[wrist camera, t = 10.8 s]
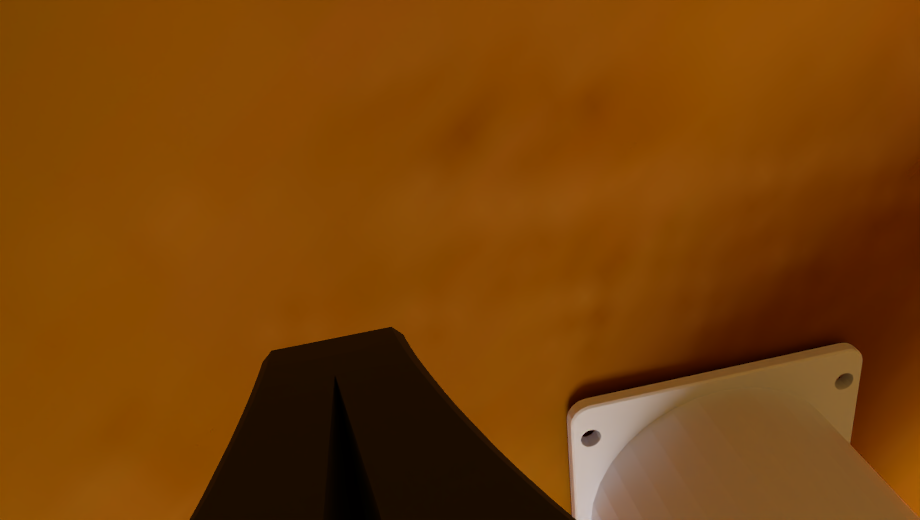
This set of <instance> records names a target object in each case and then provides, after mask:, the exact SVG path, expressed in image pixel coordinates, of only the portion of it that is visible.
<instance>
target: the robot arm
mask: <svg viewBox="0 0 920 520" xmlns="http://www.w3.org/2000/svg"><path fill="white" fill-rule="evenodd" d="M862 362H863V360H862V354H861V353H860V352H859V351H858V350H857V349H856V348H855V347H854V346H853V345H851V344H849V343H838V344H834V345H829V346H824V347H820V348H815V349H811V350H806V351H801V352H797V353H792V354H788V355H783V356H779V357H774V358H769V359H765V360H760V361H756V362H751V363H746V364H742V365H737V366H733V367H728V368H724V369H719V370H714V371H710V372H705V373H701V374H696V375H691V376H687V377H682V378H678V379H673V380H668V381H664V382H659V383H655V384H650V385H646V386H641V387H636V388H632V389H627V390H623V391H618V392H613V393H609V394H604V395H600V396H595V397H590V398H586V399H583V400H580V401H578V402H577V403H575V404H574V405H573V406H572V407H571V408H570V410H569V412H568V415H567V429H568V448H569V466H570V485H571V504H572V516H571V515H570V514H569V513H568V512H566V511H565V510H564V509H563V508H562V507H560V506H559V505H558V504H557V503H556V502H555V501H553V500H552V499H551V498H550V497H549V496H548V495H547V494H546V493H544V492H543V491H542V490H541V489H540V488H539V487H538V486H537V485H536V484H534V483H533V482H532V481H531V480H530V479H529V478H528V477H527V476H526V475H525V474H523V473H522V472H521V471H520V470H519V469H518V468H517V467H516V466H515V465H514V464H513V463H512V462H511V461H510V460H509V459H508V458H506V457H505V456H504V455H503V454H502V453H501V452H500V451H499V450H498V449H497V448H496V447H495V446H494V445H493V444H492V443H491V442H490V441H489V440H488V438H487V437H486V436H485V435H484V434H483V433H482V432H481V431H480V430H479V429H478V428H477V427H476V426H475V425H474V424H473V423H472V422H471V421H470V420H469V419H468V418H467V417H466V415H465V414H464V413H463V412H462V411H461V410H460V409H459V408H458V407H457V406H456V405H455V403H454V402H453V401H452V400H451V399H450V398H449V397H448V395H447V394H446V393H445V392H444V391H443V389H442V388H441V387H440V386H439V385H438V383H437V382H436V381H435V380H434V379H433V377H432V376H431V375H430V374H429V372H428V371H427V370H426V368H425V367H424V366H423V364H422V363H421V362H420V360H419V359H418V358H417V356H416V355H415V353H414V352H413V350H412V349H411V347H410V346H409V344H408V342H407V341H406V339H405V337H404V335H403V334H401V333H400V332H398V331H397V330H395V329H394V328H392V327H388V328H383V329H378V330H373V331H368V332H363V333H358V334H353V335H348V336H343V337H338V338H333V339H328V340H323V341H318V342H313V343H308V344H303V345H298V346H293V347H288V348H283V349H278V350H273V351H271V352H270V354H269V355H268V356H267V357H266V359H265V360H264V361H263V363H262V366H261V369H260V371H259V374H258V377H257V380H256V382H255V385H254V387H253V390H252V393H251V395H250V397H249V400H248V402H247V405H246V407H245V409H244V412H243V414H242V416H241V418H240V421H239V423H238V425H237V427H236V429H235V432H234V434H233V436H232V438H231V440H230V443H229V445H228V447H227V449H226V451H225V453H224V455H223V456H222V458H221V460H220V462H219V464H218V466H217V468H216V470H215V472H214V474H213V476H212V478H211V480H210V482H209V484H208V486H207V488H206V490H205V492H204V494H203V496H202V498H201V500H200V502H199V504H198V506H197V507H196V509H195V511H194V513H193V515H192V516H191V518H190V520H920V518H919V517H918V516H917V515H916V513H915V512H914V511H913V510H912V509H911V508H910V507H909V506H908V505H907V504H906V503H905V502H904V501H903V500H902V499H901V498H900V497H899V495H898V494H897V493H896V492H895V491H894V490H893V489H892V488H891V487H890V486H889V485H888V484H887V483H886V482H885V481H884V480H883V479H882V477H881V476H880V475H879V474H878V473H877V472H876V471H875V470H874V469H873V468H872V467H871V466H870V465H869V464H868V463H867V462H866V461H865V459H864V458H863V457H862V456H861V455H860V454H859V453H858V452H857V451H856V450H855V449H854V448H853V447H852V446H851V445H850V441H851V435H852V428H853V421H854V415H855V408H856V402H857V395H858V388H859V382H860V375H861V368H862ZM842 374H843V375H842ZM840 375H842V376H841V377H840V378H839V379H838V380H836V379H837V378H838V377H839V376H840ZM590 430H595V431H594V432H593V433H592V434H591V435H589V436H586V437H582V436H583V435H584V434H585V432H587V431H590Z"/></svg>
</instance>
